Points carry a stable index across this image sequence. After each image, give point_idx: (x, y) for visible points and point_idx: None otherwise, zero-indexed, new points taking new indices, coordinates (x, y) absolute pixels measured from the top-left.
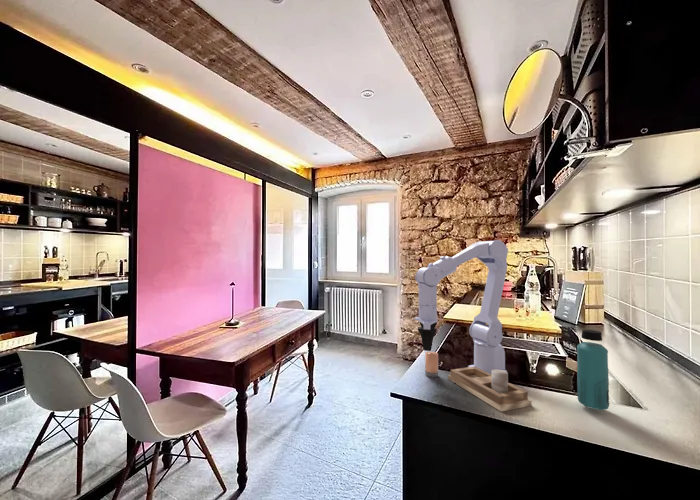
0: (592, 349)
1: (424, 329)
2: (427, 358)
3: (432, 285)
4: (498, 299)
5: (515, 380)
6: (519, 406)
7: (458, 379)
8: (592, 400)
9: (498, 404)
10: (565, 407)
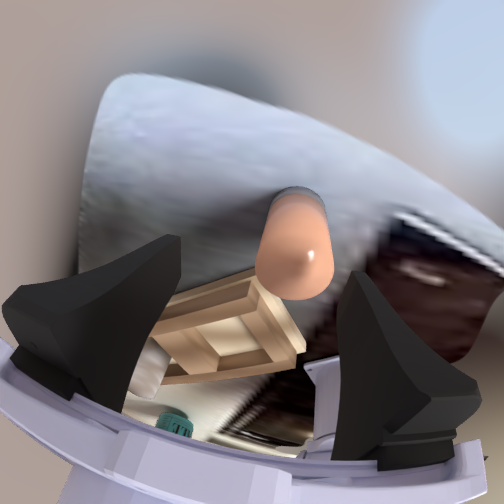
0: None
1: (22, 344)
2: (270, 230)
3: None
4: None
5: (278, 396)
6: None
7: (211, 295)
8: (157, 422)
9: None
10: (172, 397)
